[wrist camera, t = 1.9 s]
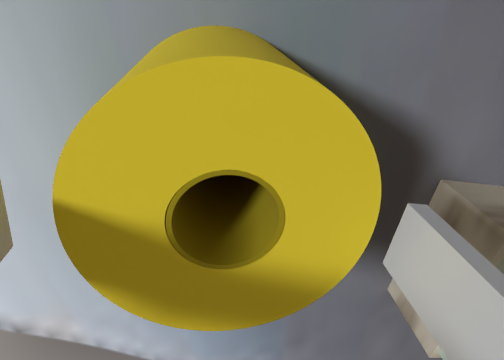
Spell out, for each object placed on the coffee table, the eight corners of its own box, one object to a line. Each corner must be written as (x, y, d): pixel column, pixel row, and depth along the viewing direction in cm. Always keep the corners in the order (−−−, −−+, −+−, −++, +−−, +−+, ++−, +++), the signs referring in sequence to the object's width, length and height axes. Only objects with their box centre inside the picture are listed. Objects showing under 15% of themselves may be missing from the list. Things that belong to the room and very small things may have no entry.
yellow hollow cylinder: (271, 214, 22) (308, 343, 14) (112, 180, 20) (43, 312, 12) (335, 62, 18) (442, 119, 10) (142, -6, 15) (67, -6, 7)
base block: (439, 178, 23) (509, 233, 17) (561, 191, 24) (658, 245, 19) (386, 287, 27) (429, 357, 22) (492, 292, 29) (555, 357, 24)
